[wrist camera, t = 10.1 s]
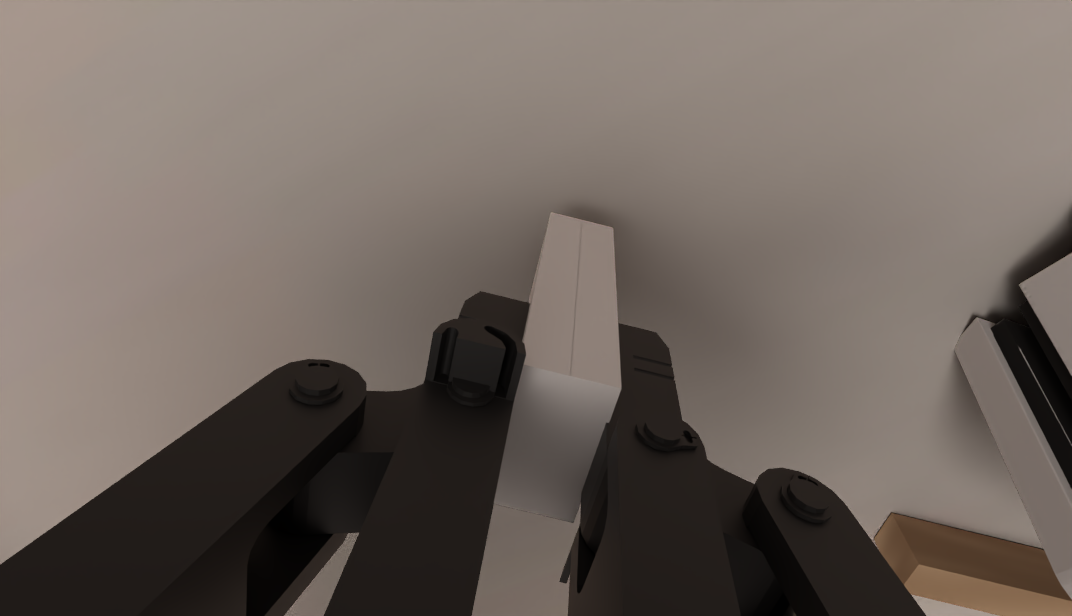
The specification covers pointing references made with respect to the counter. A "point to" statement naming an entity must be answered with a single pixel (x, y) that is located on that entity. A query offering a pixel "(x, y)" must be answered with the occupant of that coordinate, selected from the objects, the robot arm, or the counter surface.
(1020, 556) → the frame
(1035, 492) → the grey piece
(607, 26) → the counter surface
